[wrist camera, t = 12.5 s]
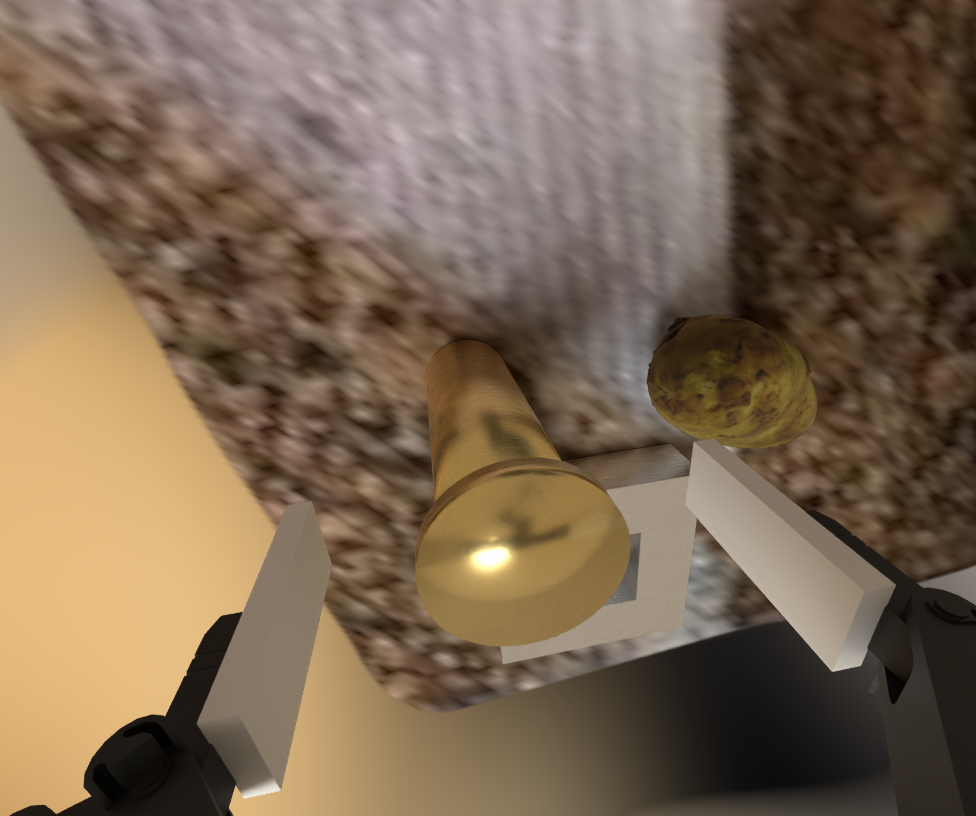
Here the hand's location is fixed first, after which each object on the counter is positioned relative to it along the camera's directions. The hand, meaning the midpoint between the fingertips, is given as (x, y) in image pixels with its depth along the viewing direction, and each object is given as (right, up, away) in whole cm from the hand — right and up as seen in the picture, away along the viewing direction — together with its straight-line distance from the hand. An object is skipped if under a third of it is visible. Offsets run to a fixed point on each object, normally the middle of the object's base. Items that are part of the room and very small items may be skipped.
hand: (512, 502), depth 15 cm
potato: (+13, +6, +15) cm, 21 cm away
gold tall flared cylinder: (-2, +5, +12) cm, 13 cm away
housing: (+6, -7, +19) cm, 21 cm away
